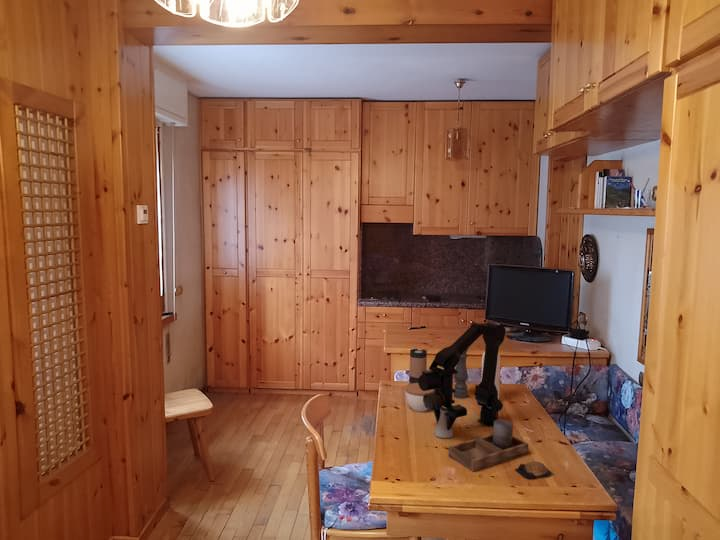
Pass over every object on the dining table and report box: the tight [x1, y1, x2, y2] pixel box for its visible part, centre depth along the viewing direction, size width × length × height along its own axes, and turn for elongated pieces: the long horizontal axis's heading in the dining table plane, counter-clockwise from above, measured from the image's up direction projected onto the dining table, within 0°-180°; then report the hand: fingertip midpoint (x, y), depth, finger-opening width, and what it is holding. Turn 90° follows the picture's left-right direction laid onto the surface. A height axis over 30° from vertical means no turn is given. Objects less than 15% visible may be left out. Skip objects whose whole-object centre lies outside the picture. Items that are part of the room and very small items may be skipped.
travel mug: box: [409, 348, 428, 384], centre depth 232 cm, size 8×8×20 cm
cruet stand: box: [448, 418, 529, 473], centre depth 174 cm, size 25×12×10 cm, turn 121°
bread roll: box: [514, 461, 555, 481], centre depth 163 cm, size 11×8×4 cm
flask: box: [433, 407, 454, 439], centre depth 190 cm, size 7×7×10 cm
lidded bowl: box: [404, 383, 434, 413], centre depth 215 cm, size 13×13×11 cm
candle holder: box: [453, 348, 469, 399], centre depth 229 cm, size 6×6×25 cm
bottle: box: [480, 351, 501, 400], centre depth 223 cm, size 8×8×30 cm
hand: (443, 427), depth 190 cm, fingers closed on flask, 5 cm apart
